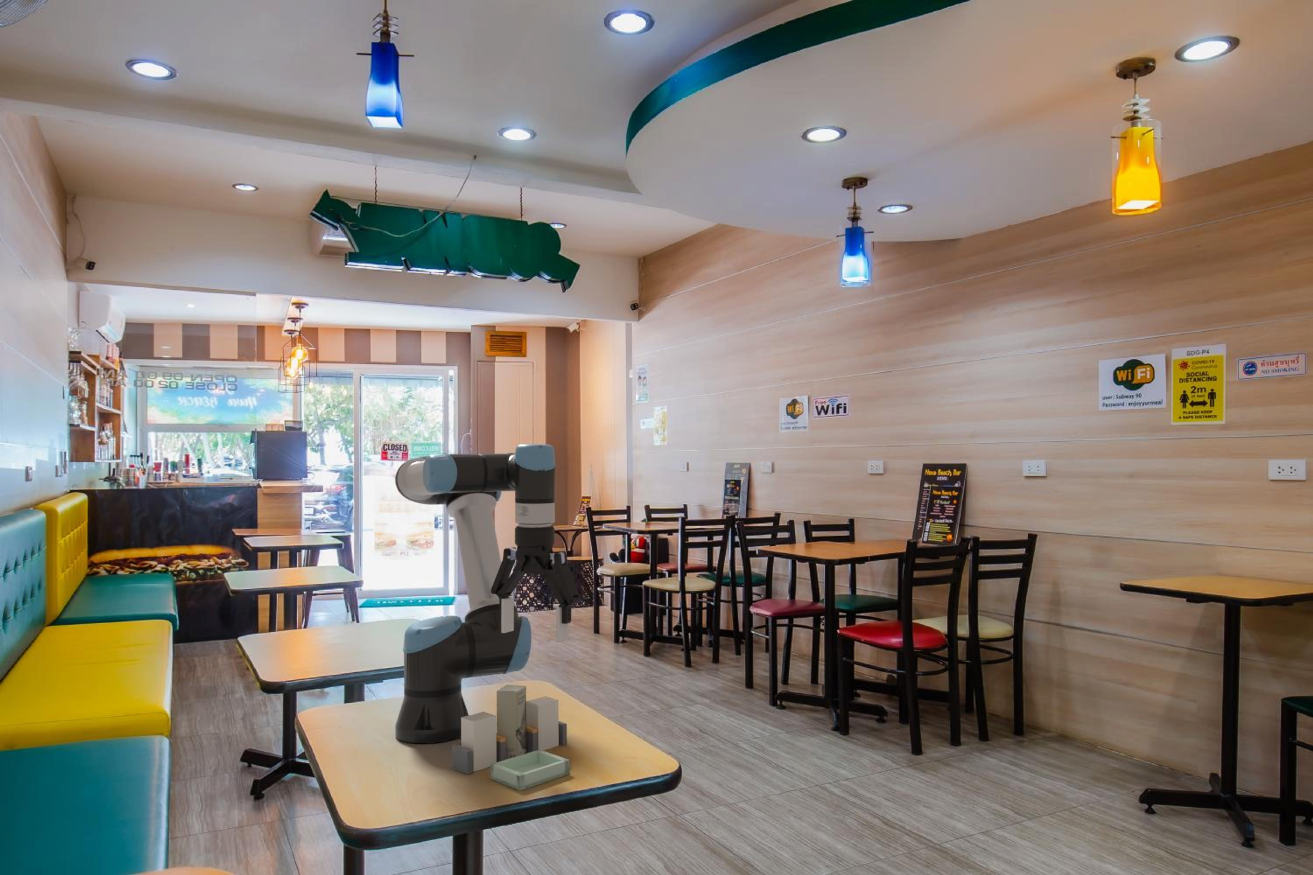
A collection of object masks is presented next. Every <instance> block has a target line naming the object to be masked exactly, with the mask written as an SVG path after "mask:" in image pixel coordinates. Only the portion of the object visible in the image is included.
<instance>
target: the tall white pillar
mask: <svg viewBox="0 0 1313 875" xmlns="http://www.w3.org/2000/svg"><path fill="white" fill-rule="evenodd" d="M558 721H559V699H556V698H554V697H550V696H541V697H537V698H533V699H530V700H526V726H530V727H533V728H536V729H537V750H542V751H547V750H549V749H552V748H555V747H559V746H560V744H559V725H558Z"/></svg>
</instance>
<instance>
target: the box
mask: <svg viewBox="0 0 1313 875" xmlns="http://www.w3.org/2000/svg"><path fill="white" fill-rule="evenodd" d="M526 701H527V686H526V685H517V684H516V685H514V684H506V685H504V686H502V687H500V688H499V689H497V690H496V735H499V736H502V737H505V738H506V760H507V759H510V758H513V757H517V756H520V755H523V754H527V753H528V752H527V735H526V733H527V731H526V730H527V728H526Z"/></svg>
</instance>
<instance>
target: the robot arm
mask: <svg viewBox="0 0 1313 875" xmlns="http://www.w3.org/2000/svg"><path fill="white" fill-rule="evenodd" d="M555 454H556V453H555V448H554V446H552V444H535V443H532V444H529V443H528V444H527V443H526V444H524V443H523V444H518V445H516V447H515V452H508V453H476V454H475V453H444V452H443V453H442V452H441V453H438V454H437V453H436V454H435V453H434V454H429V455H424V456H418V457H414V458H410V459H408V460H406V461H405V462H403V463H402V464H401V465H400V466H399V467H398V468H397V471H396V473H395V477H394V482H395V486H396V489H397V491H398V493H399V494H400V495H401V496H402V497H404V498H405V499H407V500H408V501H411V502H412V503H417V504H421V505H432V506H433V505H439V506H441V505H445V506H446V512H447V515H448V516H450V517H451V518H453V519H454V520H455V526H456V532H457V537H458V538H457V539H458V544H459V550H460V556H461V563H462V567H463V568H462V569H463V575H464V581H465V584H466V585H465V586H466V592H467V598H468V604H469V609H468V610H469V611H468V612H467V613H466V614H465V615H464V622H463V620H462V618H461V617H460V616H457V615H446V616H443V615H442V616H434V617H430V618H427V619H422V620H419V621H416V622H415V623H414V622H413V623H412V624H411V625H409V626H408V627H407V628H406V630H405V632H404V637H403V638H404V640H403V647H402V652H403V670H404V671H403V690H404V691H403V700H402V702H401V706H400V710H399V711H398V712H399V713H398V716H397V718H396V719H397V720H396V723H395V728H394V730H395V731H394V732H395V738H396V739H397V740H399V741H401V742H405V743H410V744H411V743H412V744H432V743H433V744H435V743H442V742H448V741H451V740H455V739H458V738H461V717H465V716H469V715H470V714H469V712H468V708H467V705H466V702H465V699H464V697H463V693H462V680H463V679H469V678H470V679H471V678H477V677H485V676H493V675H502V674H503V675H506V674H508V673H515V672H519V671H521V670H523V669H524V668H525V667H526V665H527V663H528V661H529V658H530V655H531V648H532V626H531V622H530V620H529V618H528V617H527V616H524V615H520V616H519V611H518V607H517V605H516V604H515V602H514V600H515V597H512V596H513V592H514V591H515V590H516V588H517V587H518V585H519V584H520V583H521V581H522V579H523V578H524V577H525V575H528V574H532V575H536V576H538V575H539V576H540V577H541V578H543V580H544V581H545V583H546V584H547V586H548V588H549V589H550V591H551V593H552V594H553V595H554V597H555V599H556V601H557V602H558V604H559V605H557V606H556V607H555V608H556V609H555V610H556V611H555V613H556V614H555V615H556V618H555V619H556V621H555V622H556V623H555V629H556V630H555V632H556V633H555V637H556V640H555V642H557V643H561V642H564V641H568V640H569V624H570V623H571V622H572V607H573V605H575V604H577V603H580V602H581V600H582V599H581V596H580V593H579V591H578V587H577V585H576V582H575V580H574V576H573V574H572V572H571V569H570V567H569V564H568V554H567V552H566V551H561V552H556V553H554V551H553V550H554V549H553V547H554V544H555V537H556V536H555V533H556V532H555V531H556V530H555V529H556V528H555V527H554V525H552V524H554V523H555V522H556V516H555V515H556V514H555V513H556V509H555V507H556V505H555V504H556V503H555V494H556V493H555V490H556V489H555V488H556V486H555V485H556V484H555V483H556V482H555V481H556V480H555V479H556V465H557V464H556V459H555V458H556V457H555ZM502 492H514V495H515V496H514V502H515V503H514V507H515V508H514V513H515V515H514V516H515V517H514V521H515V523H516V525H515V528H514V544H515V546H517V548H516V547H515V546H513V547H505V548H504V549H503V554H502V560H501V554H500V549H499V544H498V538H497V533H496V527H495V523H494V521H495V520H494V517H493V511H494V510H495V508H496V507H497V502H498V501H500V498H501V495H502ZM517 524H518V525H517ZM516 560H517V563H516ZM515 563H516V565H515Z"/></svg>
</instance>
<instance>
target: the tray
mask: <svg viewBox="0 0 1313 875" xmlns="http://www.w3.org/2000/svg"><path fill="white" fill-rule="evenodd" d="M489 768H490V777H489V778H490V779H491V780H493V781H495V782H498V783H499V784H502V785H504V786H507V787H510V788H512V789H514V790H515V791H520V792H521V791H523V790H524V791H525V790H526V789H530V788H533V787H535V786H539V785H541V784H544V783H548V782H550V781H553V780H556V779H559V778H562V777H565V776H568V775H570V759H567V758H564V757H562V756H559V755H557V754H554V753H551V752H547V751H546V750H543V751H542V750H537V751H533V752H530V753H528V752H526V753H525V754H523V755H520V756H517V757H513V758H510V759H506V760H503V761H500V762H497V763H494V764H490V767H489Z"/></svg>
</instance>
